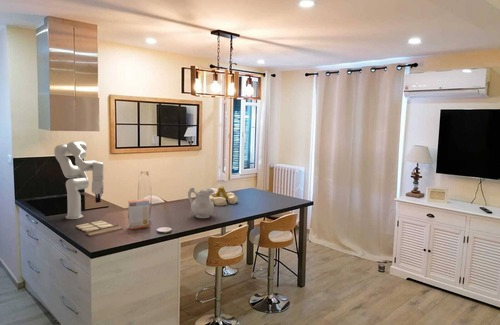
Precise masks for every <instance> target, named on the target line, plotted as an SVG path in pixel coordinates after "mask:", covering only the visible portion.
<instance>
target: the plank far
mask: <svg viewBox="0 0 500 325" xmlns="http://www.w3.org/2000/svg"><path fill="white" fill-rule="evenodd" d="M90 224H91V225H93V226H95V227H97V228H99V229H101V228H105V227H110V226H114V225H113V224H111V223H108V221H107V222H106V221H104V220H99V221H98V220H97V221H93V222H91V223H90Z"/></svg>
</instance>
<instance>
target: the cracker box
mask: <svg viewBox="0 0 500 325" xmlns="http://www.w3.org/2000/svg"><path fill="white" fill-rule="evenodd" d="M128 228H129V230H137V229H145V228H146V229H148V228H150V200H149V199H147V198H146V199H145V198H144V199H134V200H133V199H132V200H131V199H130V200H128Z"/></svg>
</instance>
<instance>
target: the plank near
mask: <svg viewBox="0 0 500 325" xmlns="http://www.w3.org/2000/svg"><path fill="white" fill-rule="evenodd" d="M75 228H77V229H79V230H81V231H83V232H84V231H85V233H86V232H87V231H92V230H96V229H100V228H98V227H95V226H93V225H91V223H89V222H88V223H83V224H82V223H81V224H78V225H76V226H75Z"/></svg>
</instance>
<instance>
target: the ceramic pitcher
mask: <svg viewBox="0 0 500 325" xmlns="http://www.w3.org/2000/svg"><path fill="white" fill-rule="evenodd" d="M191 193H194V195H195V199H194V200H193V198H192V196H191ZM213 193H215V190H213V189H212V188H211V187H210V188H207V189H206V190H204V189H201V190H200V191H196V190H195V188H194V187H190V189H189V190H188V193H187V197H188V200H189V202H190V208H191V211H192V213H193V214H195V218H198V219H209V218H211V216H210V214H212V213H213V211H214V209H215V204H214V201H213V202H212V201H211V200H210V198H209V196H210V195H211V194H212V195H213Z"/></svg>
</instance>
